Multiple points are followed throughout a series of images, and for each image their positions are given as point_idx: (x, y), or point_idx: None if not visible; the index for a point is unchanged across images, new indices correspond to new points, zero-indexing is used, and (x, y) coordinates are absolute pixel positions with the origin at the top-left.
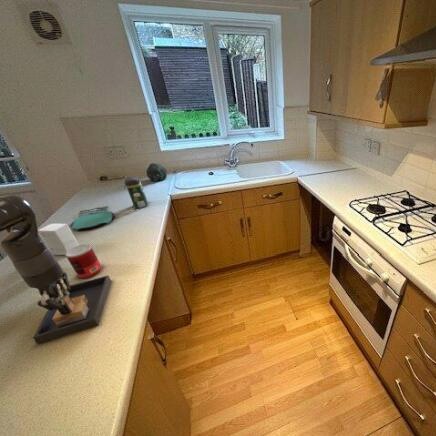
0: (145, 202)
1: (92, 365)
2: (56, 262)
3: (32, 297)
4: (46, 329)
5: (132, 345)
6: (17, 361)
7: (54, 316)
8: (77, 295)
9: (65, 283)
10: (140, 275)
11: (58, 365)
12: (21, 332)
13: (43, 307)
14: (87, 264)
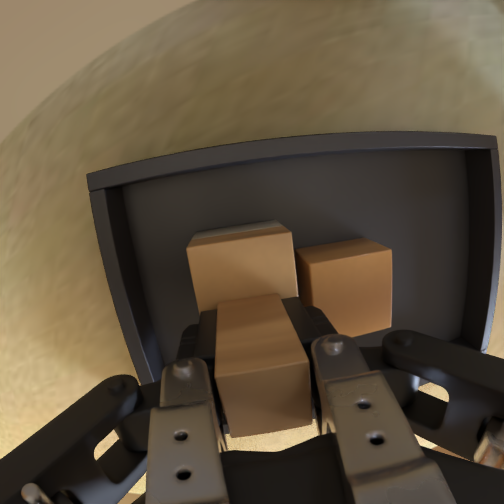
0: None
1: (22, 416)
2: None
3: (461, 16)
4: (193, 171)
5: None
6: (45, 138)
7: (212, 250)
8: (435, 222)
9: (437, 438)
10: None
11: (11, 325)
12: (236, 34)
13: (26, 442)
14: None
